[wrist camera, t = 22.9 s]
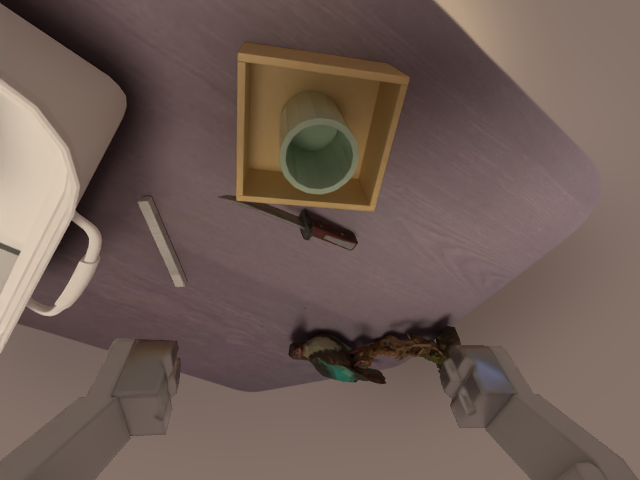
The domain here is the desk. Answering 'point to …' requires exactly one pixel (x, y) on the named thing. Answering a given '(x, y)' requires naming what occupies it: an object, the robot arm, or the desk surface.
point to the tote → (350, 96)
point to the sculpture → (369, 354)
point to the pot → (46, 160)
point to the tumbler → (316, 144)
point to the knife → (303, 224)
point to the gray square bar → (162, 240)
